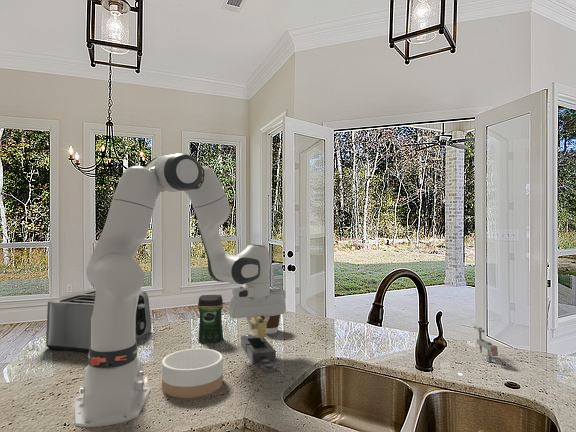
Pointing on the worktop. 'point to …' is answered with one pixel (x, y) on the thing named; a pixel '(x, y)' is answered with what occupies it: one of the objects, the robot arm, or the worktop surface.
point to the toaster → (84, 320)
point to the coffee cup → (272, 323)
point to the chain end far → (252, 342)
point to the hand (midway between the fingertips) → (257, 328)
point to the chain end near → (263, 357)
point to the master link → (259, 326)
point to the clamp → (486, 345)
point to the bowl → (192, 373)
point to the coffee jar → (210, 319)
